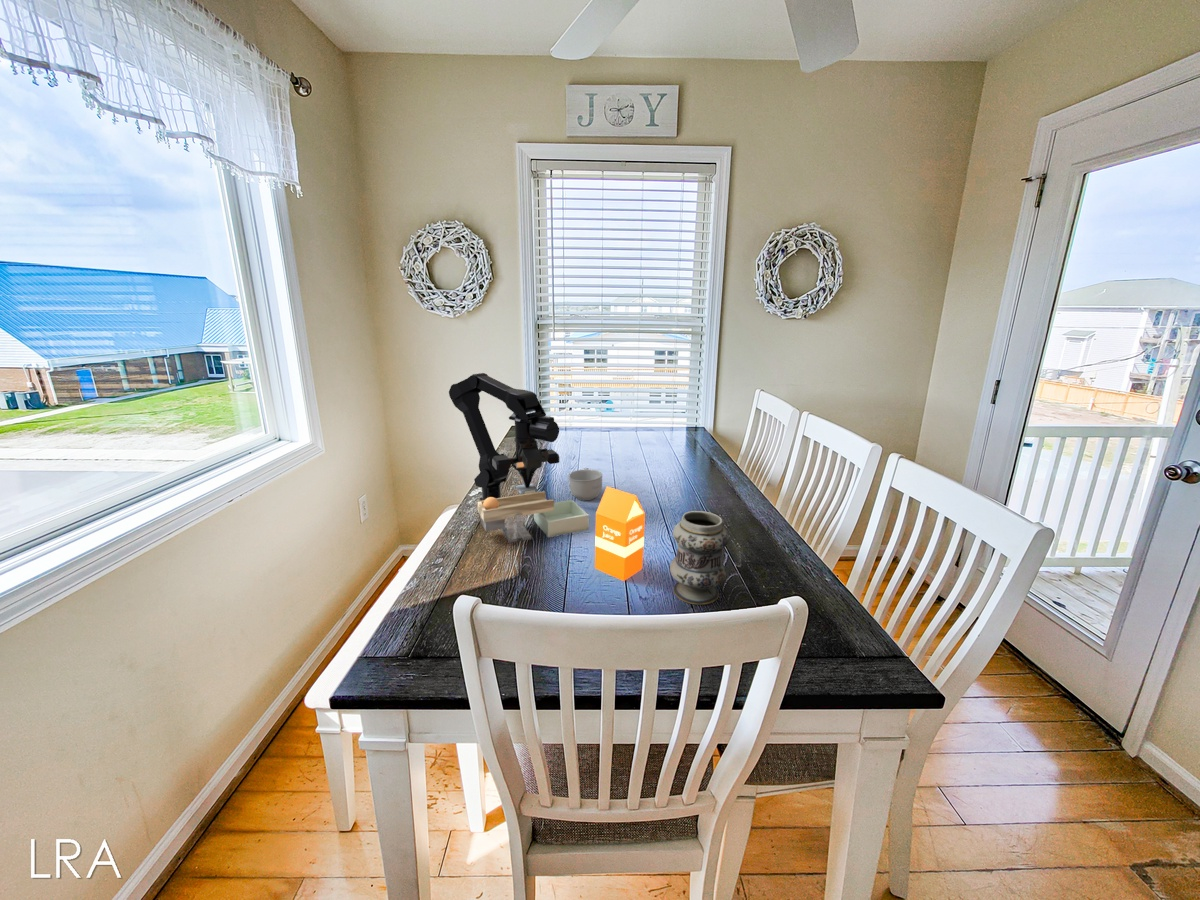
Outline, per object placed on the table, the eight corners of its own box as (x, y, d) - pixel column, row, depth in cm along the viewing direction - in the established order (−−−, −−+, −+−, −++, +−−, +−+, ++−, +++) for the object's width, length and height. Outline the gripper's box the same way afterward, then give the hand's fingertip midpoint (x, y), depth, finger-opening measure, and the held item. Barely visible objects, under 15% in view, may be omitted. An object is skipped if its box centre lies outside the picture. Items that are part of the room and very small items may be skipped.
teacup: (598, 504, 156) (598, 481, 154) (564, 501, 158) (564, 477, 156) (606, 489, 170) (606, 467, 167) (575, 486, 172) (575, 464, 169)
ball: (481, 509, 132) (481, 495, 131) (496, 507, 134) (496, 493, 133) (485, 515, 129) (485, 501, 128) (500, 513, 130) (500, 499, 129)
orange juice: (614, 556, 125) (616, 482, 119) (642, 568, 120) (647, 491, 114) (594, 568, 119) (595, 490, 113) (623, 581, 114) (626, 500, 108)
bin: (534, 520, 144) (533, 505, 143) (572, 513, 149) (572, 499, 148) (548, 537, 134) (547, 522, 133) (588, 529, 139) (588, 515, 138)
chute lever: (470, 508, 143) (469, 488, 141) (534, 498, 151) (533, 480, 149) (484, 532, 128) (483, 511, 126) (553, 520, 136) (553, 500, 134)
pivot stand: (499, 527, 139) (498, 502, 137) (520, 523, 142) (519, 499, 140) (509, 543, 130) (508, 516, 128) (531, 538, 133) (530, 513, 131)
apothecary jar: (715, 578, 116) (722, 507, 111) (730, 608, 105) (739, 530, 99) (664, 577, 116) (669, 506, 111) (673, 608, 104) (679, 530, 99)
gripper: (500, 447, 131) (503, 502, 135) (566, 439, 139) (566, 491, 143) (490, 437, 140) (493, 488, 145) (552, 430, 148) (553, 479, 153)
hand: (527, 487), depth 146 cm, fingers closed, pressing on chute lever
